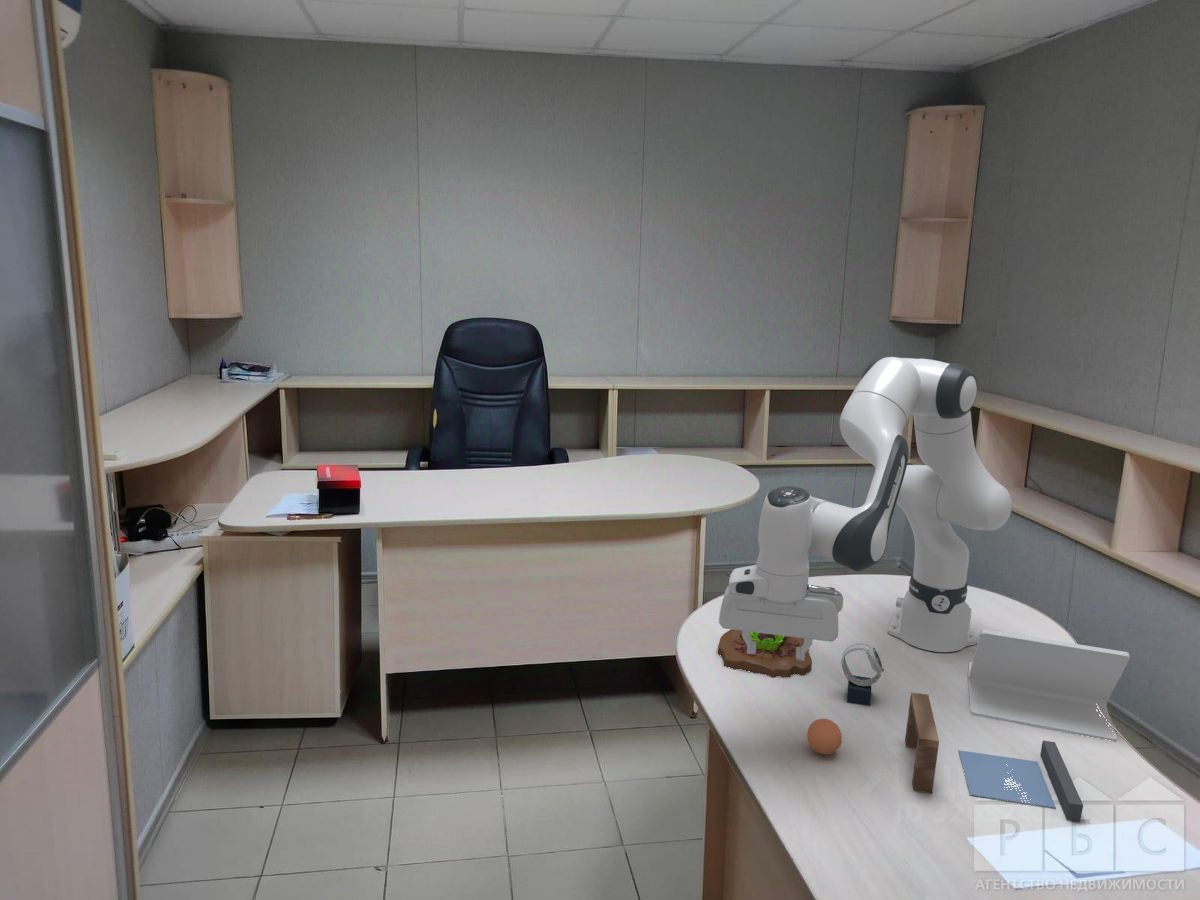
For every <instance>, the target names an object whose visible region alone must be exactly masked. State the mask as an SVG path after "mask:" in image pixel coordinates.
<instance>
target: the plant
mask: <svg viewBox="0 0 1200 900" xmlns="http://www.w3.org/2000/svg"><path fill="white" fill-rule="evenodd" d="M750 638H751V640H752V641H754V642H757V644H756V654H747V647H748V645H747V644H746V643H745V641H744V639H743V637H742V631H740V630H732V629H728V631H726V632H724V633H723V634H722V635H721V636H720V639H719V642H718V647H717V655H719V656H720V655H721V656H720V657H721V658H722V660H724V661H723V667H725V666H726V667H725V668H728V667H730V668H729V669H731V668H733V669H732V670H736V669H742V670H741V671H743V670H746V671H745V672H747V671H750V672H753V673H752V674H758V673H760V675H765V674H766V676H768V675H769V676H768V677H770V676H771V677H770V678H772V677H773V678H776V676H781V677H780V678H784V677H785V679H787V678H786V677H789V678H790V677H792V676H793V674H794V675H798V674H799V676H802V675H803V676H806V675H807V673H808V674H809V673H810V672H811V670H812V664H813V660H812V657H811V654H810V648H809V649H808V650H807V652H805V657H804V661H801V660H796V648H797V647H802V646H803V644H804V638H797V637H789V636H781V635H773V634H765V633H757V632H750ZM750 672H749V673H750ZM805 674H806V675H805ZM791 675H792V676H791Z"/></svg>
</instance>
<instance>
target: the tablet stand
mask: <svg viewBox="0 0 1200 900" xmlns="http://www.w3.org/2000/svg"><path fill="white" fill-rule="evenodd" d="M976 644H977V645H976V648H975V653H974V656H973V660H972V661H969V664H968V669H967V670H968V671H967V682H968V683H967V685H968V698H969V712H970V715H972V716H974V717H975V716H976V717H980V718H985V719H986V718H987V719H991V720H996V721H1001V722H1002V721H1003V722H1008V723H1012V724H1016V725H1017V724H1018V725H1023V726H1027V727H1034V728H1037V729H1038V728H1039V729H1043V730H1044V729H1045V730H1050V731H1055V732H1059V731H1060V733H1065V734H1070V733H1071V734H1070V735H1075V734H1077V735H1076V736H1081V735H1083V736H1082V737H1086V736H1089V737H1088V738H1091V737H1094V738H1093V739H1096V738H1100V739H1099V740H1102V739H1107V740H1111V741H1110V742H1112V741H1114V742H1113V743H1115V742H1117V741H1118V736H1117V733H1116V730H1115V727H1114V724H1113V722H1112V719H1111V715H1110V713H1109V710H1108V702H1109V700H1110V697H1111V696H1112V694H1113V691H1114V690H1115V688H1116V685H1117V684H1118V682H1119V680H1120V679H1121V677H1122V675H1123V673H1124V671H1125V668H1126V667H1127V665H1128V663H1129V661H1130V660H1131V658H1130V657H1131V656H1130V653H1129V652H1128V651H1122V650H1116V649H1109V648H1104V647H1098V646H1097V647H1096V646H1091V645H1086V644H1085V645H1084V644H1078V643H1072V642H1066V641H1060V640H1053V639H1048V638H1047V639H1046V638H1040V637H1034V636H1029V635H1023V634H1022V635H1021V634H1016V633H1009V632H1004V631H998V630H989V629H981V630H980V633H979V638H978V641H977V643H976ZM1096 703H1097V704H1098V706H1099V708H1100V710H1101V712H1102V713H1103V715H1104V716H1105V718H1104V717H1103V715H1102V714H1101V713H1100V711H1099V709H1098V708H1097V705H1096ZM1096 709H1097V710H1098V712H1097V711H1096ZM1099 714H1100V715H1101V717H1100V716H1099ZM1106 719H1107V721H1106ZM1108 722H1109V723H1110V724H1111V725H1112V726H1110V725H1109V723H1108ZM1106 723H1107V724H1106ZM1108 725H1109V727H1108ZM1112 727H1113V728H1114V730H1113V728H1112ZM1110 728H1111V729H1110ZM1112 731H1113V732H1112ZM1114 734H1115V735H1114ZM1107 740H1106V741H1107ZM1116 740H1117V741H1116Z"/></svg>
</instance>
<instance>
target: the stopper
mask: <svg viewBox="0 0 1200 900" xmlns="http://www.w3.org/2000/svg"><path fill="white" fill-rule="evenodd" d="M1039 756H1040V758H1041V761H1042V763H1043V765H1044V768H1045V770H1046V772H1047V776H1048V778H1049V780H1050V783H1051V785H1052V788H1053V790H1054V793H1055V796H1056V797H1057V799H1058V802H1059V805H1060V808H1061V810H1062V812H1063V814H1064V815H1063V816H1064V817H1065V819H1066V820H1067V821H1072V822H1079V823H1080V822H1081V819H1082V814H1083V809H1084V804H1083V802H1082V799H1081V797H1080V795H1079V793H1078V790H1077V788H1076V786H1075V784H1074V782H1073V779H1072V777H1071V775H1070V773H1069V771H1068V768H1067V765H1066V763H1065V762H1064V759H1063V757H1062V755H1061V753H1060V751H1059V748H1058V745H1057V743H1056V742H1055V741H1051V740H1042V741H1041V749H1040V755H1039Z"/></svg>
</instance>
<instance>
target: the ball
mask: <svg viewBox="0 0 1200 900" xmlns="http://www.w3.org/2000/svg"><path fill="white" fill-rule="evenodd" d="M806 739H807V742H808V745H809V747H810V748H811V749H812V750H813V751H815V752H816V753H818V754H819V755H820V754H821V755H831V754H834V753H835V752H837V750H839V748H840V746H842V745H841V744H842V741H843V734H842V730H841V728H840V727H839V726H838V724H837V723H835V721H833V720H830V719H827V718H818V719H815V720H814V721H812V723H811V724H810V725H809V726H808V728H807V730H806Z"/></svg>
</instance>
